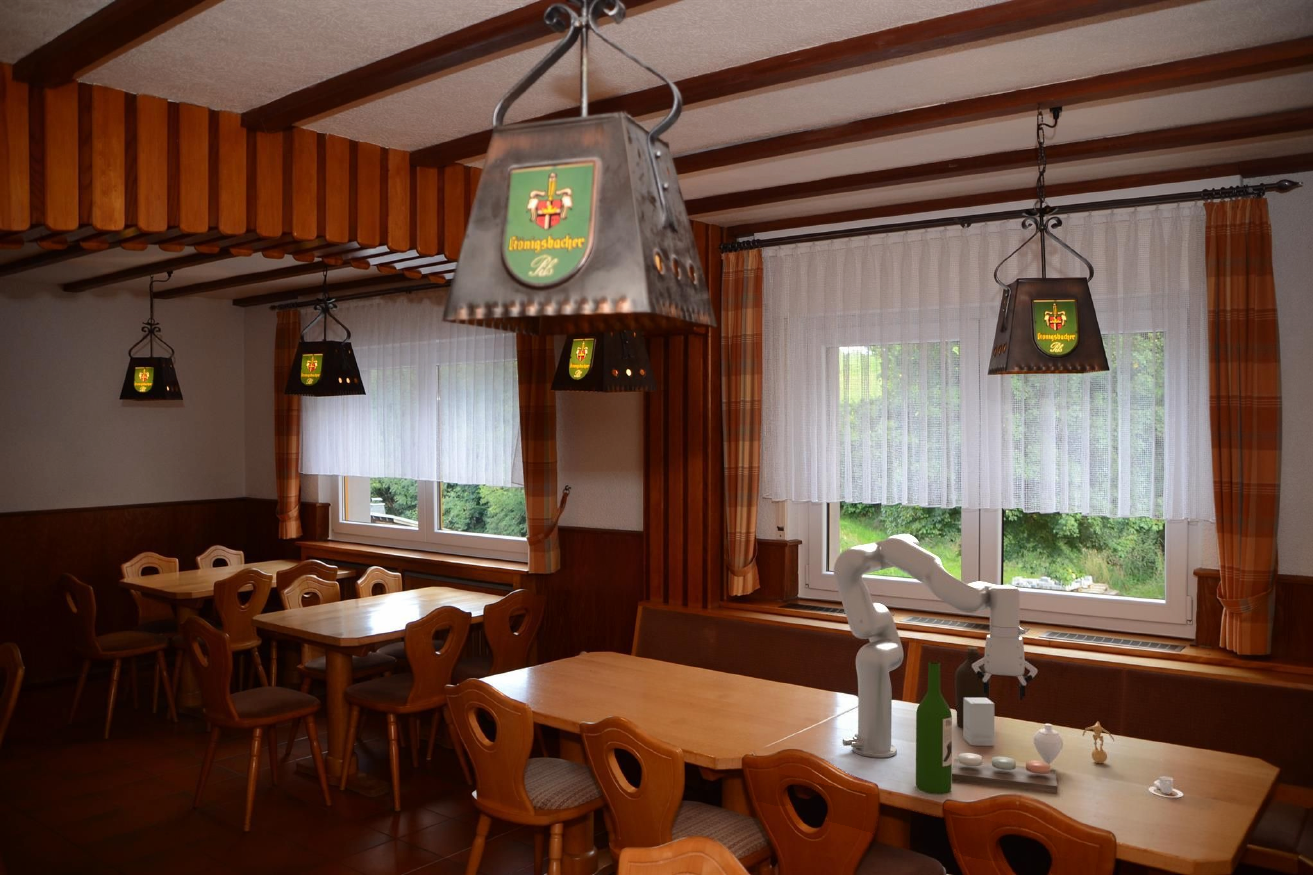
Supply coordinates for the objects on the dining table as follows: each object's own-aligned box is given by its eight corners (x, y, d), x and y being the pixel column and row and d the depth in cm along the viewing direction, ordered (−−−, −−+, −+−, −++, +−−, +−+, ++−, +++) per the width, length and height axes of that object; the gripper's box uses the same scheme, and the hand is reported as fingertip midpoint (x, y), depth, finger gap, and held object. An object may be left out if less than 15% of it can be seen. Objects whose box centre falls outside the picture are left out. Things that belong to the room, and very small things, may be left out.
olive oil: (996, 727, 306) (997, 648, 306) (976, 732, 299) (977, 652, 299) (967, 719, 314) (968, 642, 314) (947, 724, 308) (948, 646, 308)
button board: (1057, 793, 247) (1057, 786, 247) (951, 781, 256) (951, 773, 256) (1054, 777, 259) (1054, 770, 260) (954, 765, 268) (954, 758, 268)
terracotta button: (1035, 774, 251) (1035, 768, 251) (1020, 767, 257) (1021, 761, 257) (1055, 772, 253) (1055, 766, 253) (1040, 765, 259) (1040, 759, 259)
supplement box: (995, 746, 286) (995, 703, 287) (970, 745, 287) (970, 703, 287) (987, 738, 294) (987, 697, 294) (962, 738, 294) (962, 696, 294)
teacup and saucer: (1153, 785, 255) (1153, 769, 255) (1186, 792, 250) (1187, 776, 250) (1145, 794, 249) (1145, 778, 249) (1179, 801, 244) (1179, 785, 244)
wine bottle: (946, 796, 245) (946, 668, 245) (911, 789, 249) (912, 664, 250) (955, 786, 252) (956, 662, 252) (921, 779, 257) (922, 657, 257)
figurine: (1116, 763, 271) (1116, 721, 271) (1112, 769, 266) (1112, 726, 266) (1085, 758, 276) (1085, 716, 276) (1080, 763, 271) (1080, 721, 271)
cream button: (967, 766, 257) (967, 760, 257) (954, 759, 263) (954, 753, 263) (986, 764, 259) (986, 759, 259) (973, 757, 264) (973, 752, 264)
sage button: (1001, 770, 254) (1001, 764, 254) (987, 763, 260) (987, 757, 260) (1020, 768, 256) (1020, 762, 256) (1006, 761, 262) (1006, 755, 262)
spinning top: (1033, 770, 265) (1033, 726, 265) (1032, 761, 273) (1033, 719, 273) (1063, 773, 263) (1063, 729, 263) (1062, 764, 270) (1062, 722, 270)
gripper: (1038, 631, 259) (1038, 697, 259) (970, 627, 265) (970, 691, 264) (1039, 637, 252) (1039, 704, 252) (970, 632, 258) (969, 697, 257)
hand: (1004, 697), depth 258 cm, fingers open, 7 cm apart
